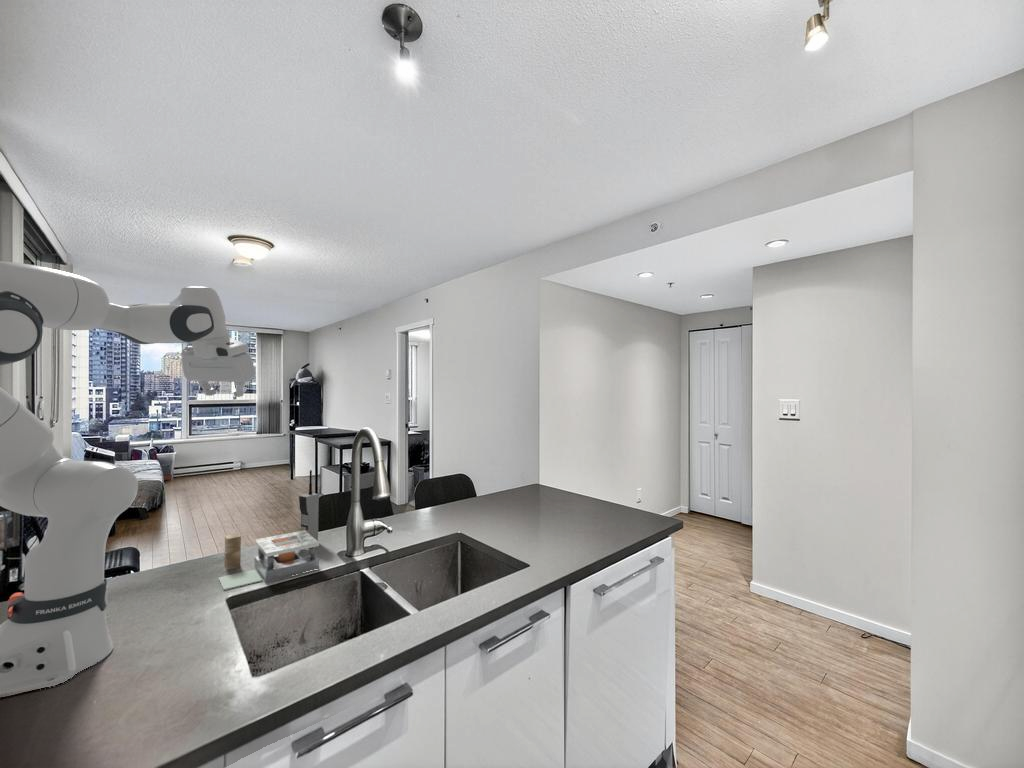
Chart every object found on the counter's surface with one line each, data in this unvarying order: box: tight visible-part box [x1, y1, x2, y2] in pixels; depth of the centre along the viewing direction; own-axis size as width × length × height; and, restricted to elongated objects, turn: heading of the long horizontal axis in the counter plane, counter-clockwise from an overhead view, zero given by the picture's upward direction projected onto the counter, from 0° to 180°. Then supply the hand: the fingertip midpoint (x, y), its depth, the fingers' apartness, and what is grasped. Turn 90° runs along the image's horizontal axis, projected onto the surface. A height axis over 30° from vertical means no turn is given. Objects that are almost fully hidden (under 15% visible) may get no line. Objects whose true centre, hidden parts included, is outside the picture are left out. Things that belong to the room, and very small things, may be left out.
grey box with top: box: [254, 530, 320, 584], centre depth 133 cm, size 14×14×8 cm
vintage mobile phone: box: [298, 469, 320, 542], centre depth 153 cm, size 4×5×25 cm
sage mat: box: [217, 569, 263, 591], centre depth 124 cm, size 9×9×1 cm
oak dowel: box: [224, 533, 242, 571], centre depth 133 cm, size 4×4×9 cm
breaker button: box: [278, 542, 295, 563], centre depth 133 cm, size 4×4×4 cm
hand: (224, 395), depth 126 cm, fingers open, 8 cm apart
